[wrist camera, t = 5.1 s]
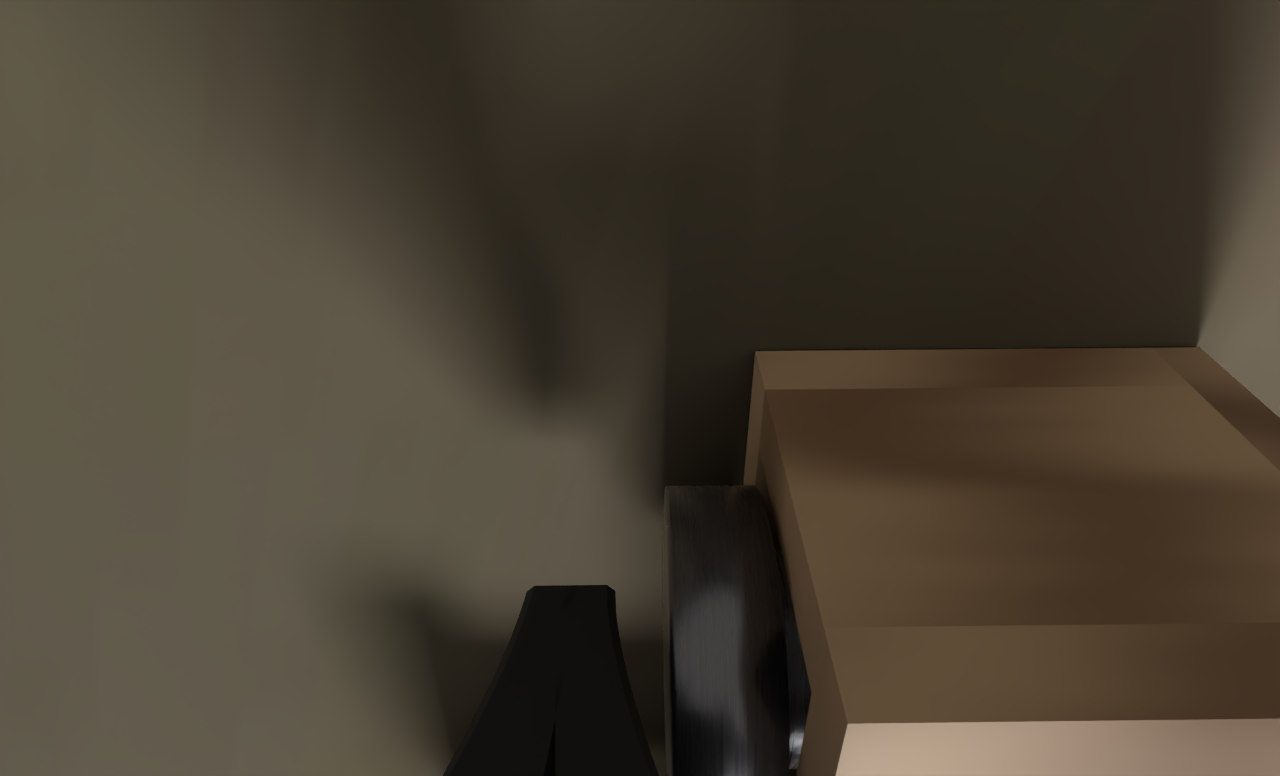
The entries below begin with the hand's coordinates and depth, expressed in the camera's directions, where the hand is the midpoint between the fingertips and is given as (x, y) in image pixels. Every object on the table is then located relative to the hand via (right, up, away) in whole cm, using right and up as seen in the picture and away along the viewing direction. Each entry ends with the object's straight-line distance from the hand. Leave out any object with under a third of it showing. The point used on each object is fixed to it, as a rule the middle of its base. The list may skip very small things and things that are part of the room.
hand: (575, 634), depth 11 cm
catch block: (+6, -2, +4) cm, 8 cm away
